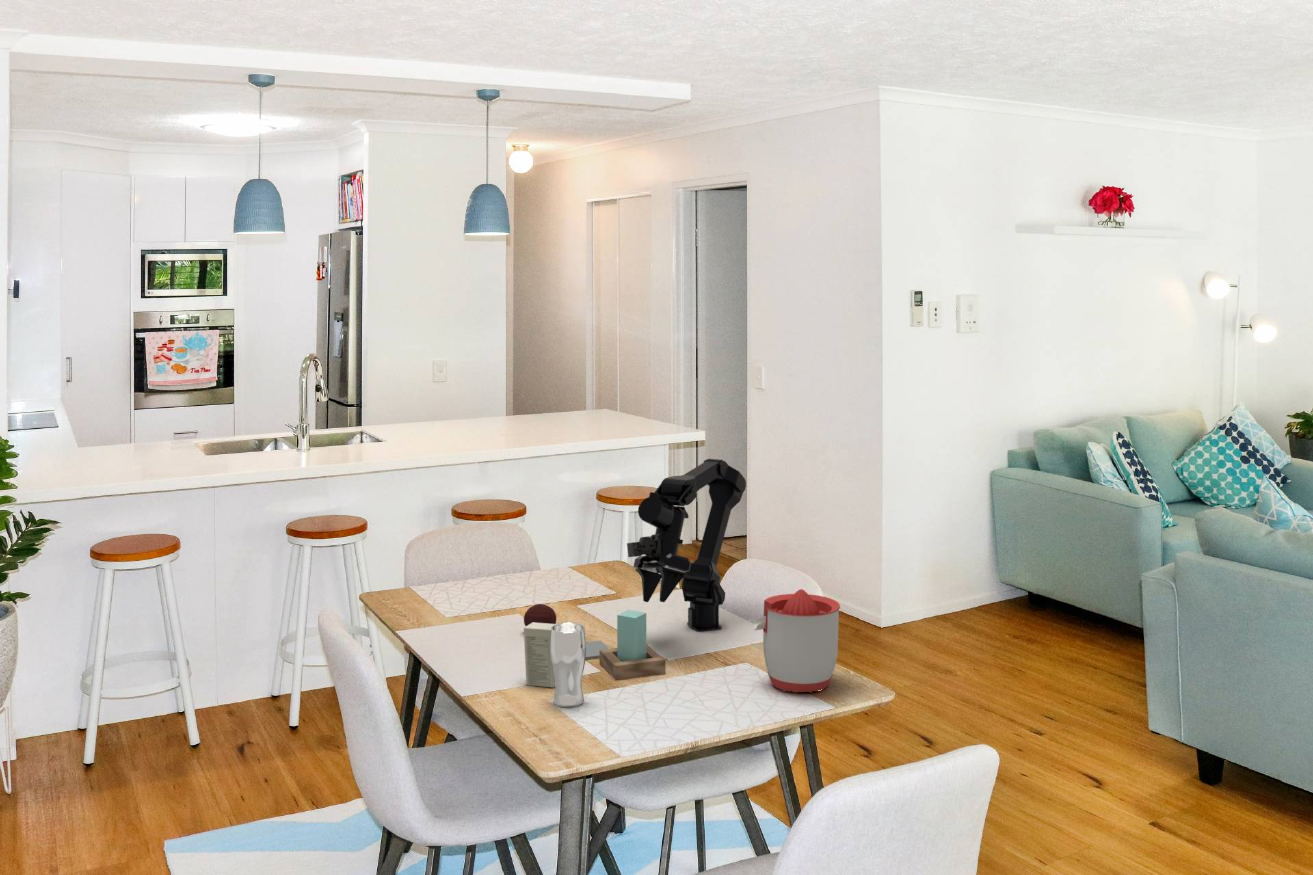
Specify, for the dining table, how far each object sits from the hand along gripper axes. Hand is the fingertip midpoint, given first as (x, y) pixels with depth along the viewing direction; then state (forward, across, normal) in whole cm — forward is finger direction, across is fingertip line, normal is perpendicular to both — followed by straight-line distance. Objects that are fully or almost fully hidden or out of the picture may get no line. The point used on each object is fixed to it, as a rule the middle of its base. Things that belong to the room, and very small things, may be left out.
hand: (653, 601), depth 243 cm
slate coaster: (+14, -10, -9) cm, 19 cm away
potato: (+11, -27, -15) cm, 33 cm away
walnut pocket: (+15, +4, -3) cm, 16 cm away
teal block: (+15, +4, -3) cm, 16 cm away
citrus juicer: (+12, +26, +24) cm, 37 cm away
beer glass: (+25, +16, -20) cm, 35 cm away
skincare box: (+22, +4, -22) cm, 32 cm away
